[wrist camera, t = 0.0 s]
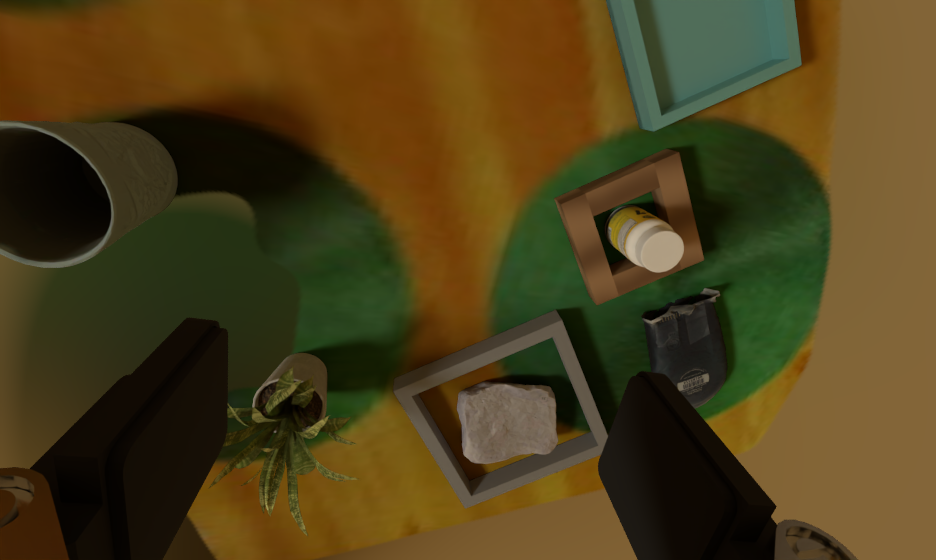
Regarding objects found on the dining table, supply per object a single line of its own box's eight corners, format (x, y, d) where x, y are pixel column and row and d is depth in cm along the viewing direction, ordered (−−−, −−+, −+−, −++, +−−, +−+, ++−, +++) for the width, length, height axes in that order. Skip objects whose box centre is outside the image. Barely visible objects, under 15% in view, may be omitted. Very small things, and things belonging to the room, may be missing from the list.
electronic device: (623, 309, 56) (654, 414, 60) (648, 323, 50) (681, 437, 54) (692, 278, 57) (719, 384, 60) (725, 289, 51) (751, 404, 55)
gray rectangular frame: (394, 378, 54) (393, 391, 52) (555, 309, 53) (561, 320, 51) (463, 492, 62) (465, 508, 60) (605, 435, 61) (613, 449, 58)
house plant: (398, 401, 56) (390, 519, 41) (294, 446, 57) (249, 577, 42) (336, 303, 50) (301, 398, 35) (222, 354, 51) (140, 468, 36)
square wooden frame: (554, 198, 48) (561, 204, 46) (666, 148, 47) (679, 152, 45) (589, 295, 53) (596, 305, 50) (691, 251, 52) (704, 259, 49)
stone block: (452, 377, 57) (461, 451, 59) (455, 394, 53) (466, 474, 55) (547, 362, 58) (553, 436, 60) (559, 377, 54) (565, 456, 56)
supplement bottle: (656, 217, 50) (699, 242, 42) (630, 254, 51) (667, 285, 43) (620, 195, 49) (658, 217, 41) (594, 235, 50) (626, 263, 42)
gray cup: (58, 196, 43) (-64, 235, 32) (77, 88, 40) (-51, 92, 29) (175, 238, 46) (98, 289, 35) (201, 140, 43) (126, 161, 32)
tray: (598, -29, 41) (611, -37, 38) (755, -104, 40) (780, -118, 37) (639, 128, 46) (653, 131, 43) (778, 66, 45) (801, 65, 42)
